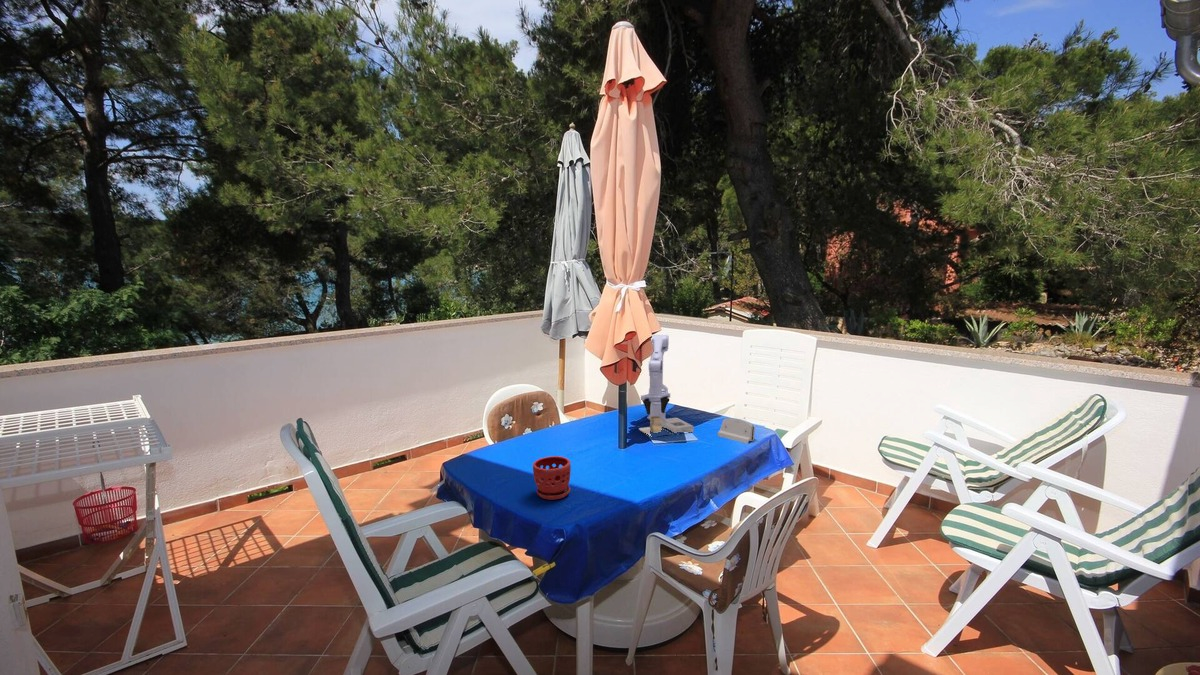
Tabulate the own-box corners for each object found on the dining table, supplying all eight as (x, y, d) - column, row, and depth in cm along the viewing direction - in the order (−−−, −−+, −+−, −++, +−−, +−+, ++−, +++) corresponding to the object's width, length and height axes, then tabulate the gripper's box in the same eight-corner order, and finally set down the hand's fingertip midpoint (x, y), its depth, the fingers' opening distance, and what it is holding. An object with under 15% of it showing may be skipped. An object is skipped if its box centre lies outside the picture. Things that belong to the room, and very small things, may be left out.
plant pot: (555, 484, 203) (554, 452, 201) (578, 494, 193) (578, 462, 191) (526, 494, 194) (525, 461, 192) (549, 506, 184) (548, 471, 183)
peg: (650, 431, 263) (650, 416, 262) (657, 430, 264) (657, 415, 263) (653, 433, 259) (653, 419, 258) (661, 432, 261) (661, 418, 260)
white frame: (659, 425, 274) (659, 419, 273) (677, 423, 277) (677, 417, 277) (674, 434, 259) (674, 428, 258) (693, 432, 262) (693, 426, 262)
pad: (638, 429, 268) (638, 428, 267) (657, 427, 271) (657, 425, 271) (651, 437, 255) (651, 436, 255) (670, 435, 258) (670, 434, 258)
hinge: (716, 435, 257) (721, 414, 258) (722, 436, 260) (726, 416, 261) (748, 443, 245) (752, 421, 246) (753, 445, 248) (758, 423, 249)
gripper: (645, 388, 253) (645, 417, 254) (673, 385, 258) (673, 414, 260) (639, 385, 259) (639, 413, 261) (666, 382, 264) (666, 410, 266)
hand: (655, 413), depth 261 cm, fingers open, 7 cm apart
